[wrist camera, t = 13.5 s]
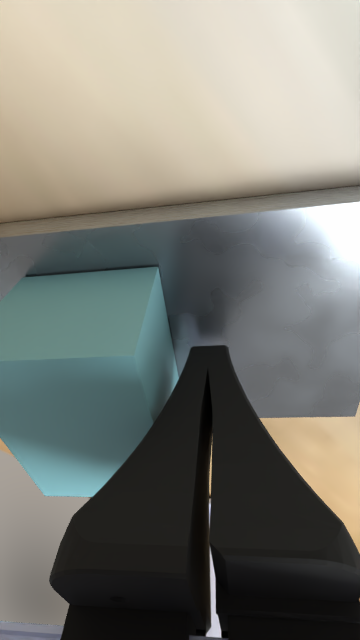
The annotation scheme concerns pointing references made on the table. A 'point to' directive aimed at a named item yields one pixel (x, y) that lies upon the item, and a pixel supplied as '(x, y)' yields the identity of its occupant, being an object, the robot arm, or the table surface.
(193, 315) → the press bed
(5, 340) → the block
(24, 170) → the table surface
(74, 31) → the table surface
